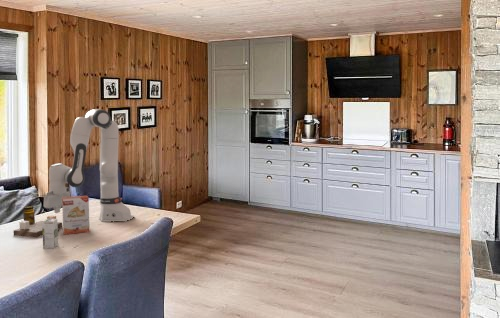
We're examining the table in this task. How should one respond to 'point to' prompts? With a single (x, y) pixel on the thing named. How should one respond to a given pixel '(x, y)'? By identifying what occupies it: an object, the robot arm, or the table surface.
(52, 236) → the syrup box
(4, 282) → the table surface
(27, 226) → the white fader
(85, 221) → the cracker box
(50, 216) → the orange fader
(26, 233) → the console
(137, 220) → the table surface
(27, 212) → the condiment
